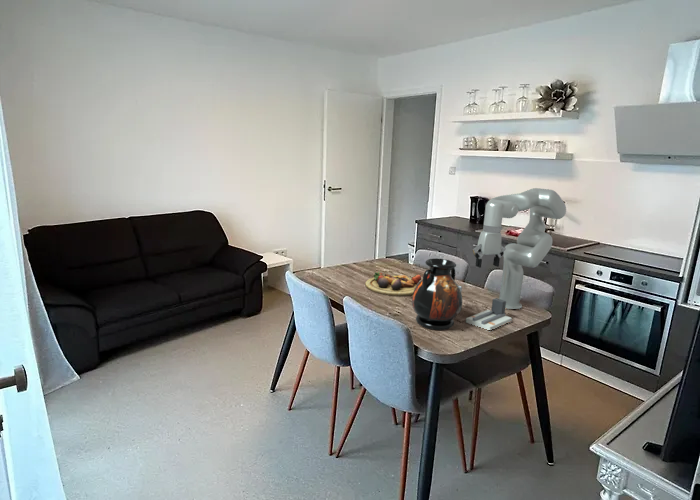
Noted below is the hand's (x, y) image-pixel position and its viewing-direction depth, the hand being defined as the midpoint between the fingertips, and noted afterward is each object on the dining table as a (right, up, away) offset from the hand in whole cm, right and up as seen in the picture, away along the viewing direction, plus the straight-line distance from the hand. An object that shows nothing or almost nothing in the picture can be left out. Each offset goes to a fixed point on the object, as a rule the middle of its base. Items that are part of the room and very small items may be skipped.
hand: (487, 266), depth 195 cm
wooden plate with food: (-38, -13, +40) cm, 57 cm away
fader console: (0, -25, -3) cm, 25 cm away
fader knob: (+5, -22, +1) cm, 22 cm away
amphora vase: (-26, -25, -7) cm, 36 cm away
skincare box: (-14, -22, +9) cm, 27 cm away
